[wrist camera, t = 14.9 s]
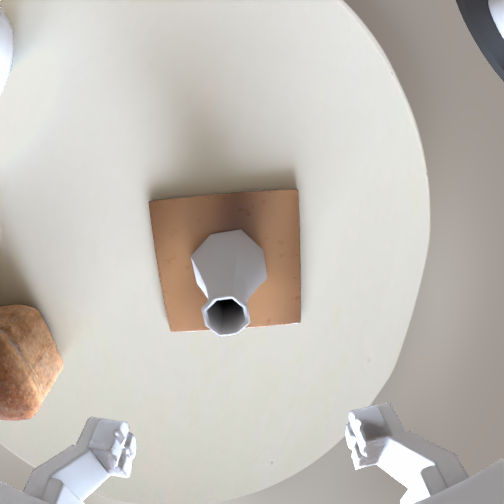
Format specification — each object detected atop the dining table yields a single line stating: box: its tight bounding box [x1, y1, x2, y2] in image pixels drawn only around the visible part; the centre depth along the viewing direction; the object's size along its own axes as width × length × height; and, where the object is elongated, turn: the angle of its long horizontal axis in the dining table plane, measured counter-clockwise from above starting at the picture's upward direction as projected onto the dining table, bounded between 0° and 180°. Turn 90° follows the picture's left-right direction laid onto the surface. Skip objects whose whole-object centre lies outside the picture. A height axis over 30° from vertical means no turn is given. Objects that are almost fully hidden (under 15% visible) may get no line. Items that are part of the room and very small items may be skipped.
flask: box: [191, 229, 267, 337], centre depth 25 cm, size 7×7×10 cm
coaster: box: [149, 189, 301, 332], centre depth 30 cm, size 14×14×1 cm
